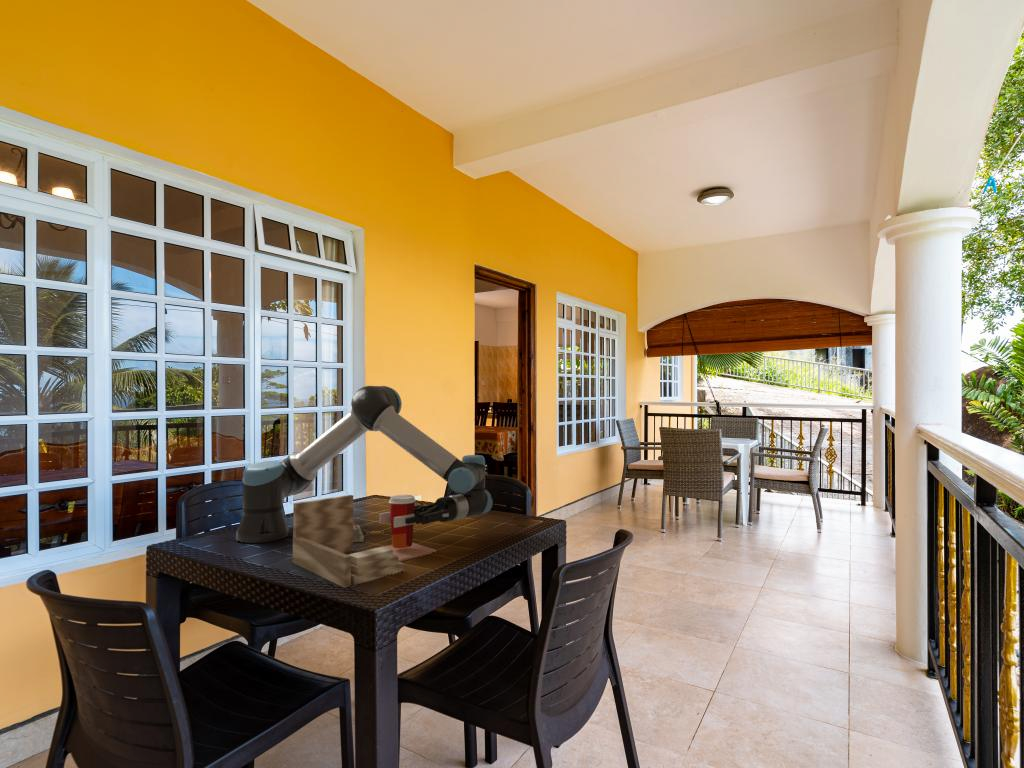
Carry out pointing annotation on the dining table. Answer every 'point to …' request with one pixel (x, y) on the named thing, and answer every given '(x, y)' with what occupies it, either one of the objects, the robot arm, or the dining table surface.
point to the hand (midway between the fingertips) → (387, 520)
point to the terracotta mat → (410, 551)
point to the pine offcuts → (373, 564)
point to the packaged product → (357, 533)
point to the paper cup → (401, 507)
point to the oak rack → (324, 537)
